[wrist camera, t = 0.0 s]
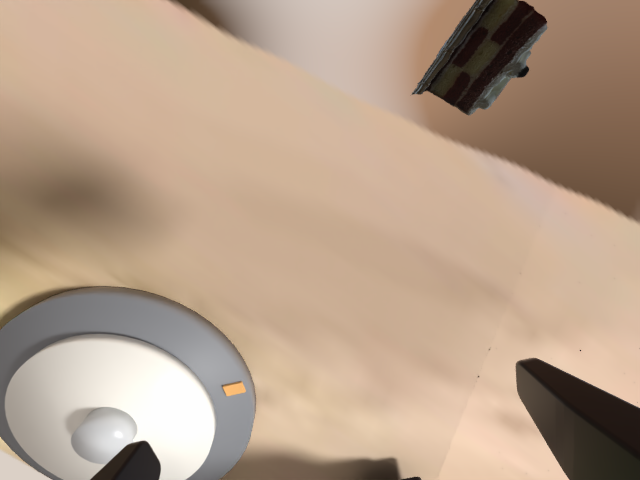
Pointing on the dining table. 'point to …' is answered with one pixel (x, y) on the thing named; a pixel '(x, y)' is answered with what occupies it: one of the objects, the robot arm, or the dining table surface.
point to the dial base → (151, 327)
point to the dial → (109, 406)
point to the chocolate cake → (484, 54)
